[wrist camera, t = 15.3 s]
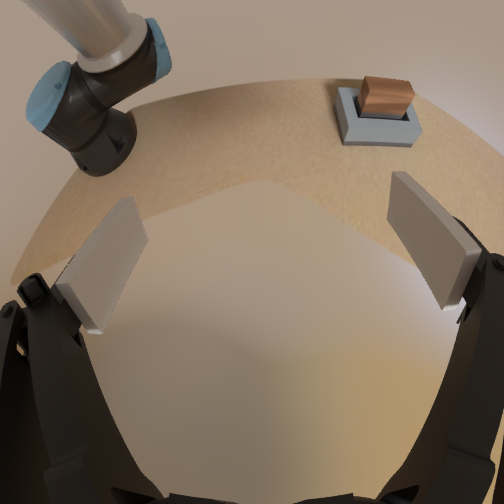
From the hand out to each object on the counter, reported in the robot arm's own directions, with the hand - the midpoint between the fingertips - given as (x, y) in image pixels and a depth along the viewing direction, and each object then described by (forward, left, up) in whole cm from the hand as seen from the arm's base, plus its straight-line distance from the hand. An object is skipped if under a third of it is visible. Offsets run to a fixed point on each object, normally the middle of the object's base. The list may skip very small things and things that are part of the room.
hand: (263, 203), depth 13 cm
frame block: (-17, +27, -31) cm, 44 cm away
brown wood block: (-17, +27, -29) cm, 43 cm away
